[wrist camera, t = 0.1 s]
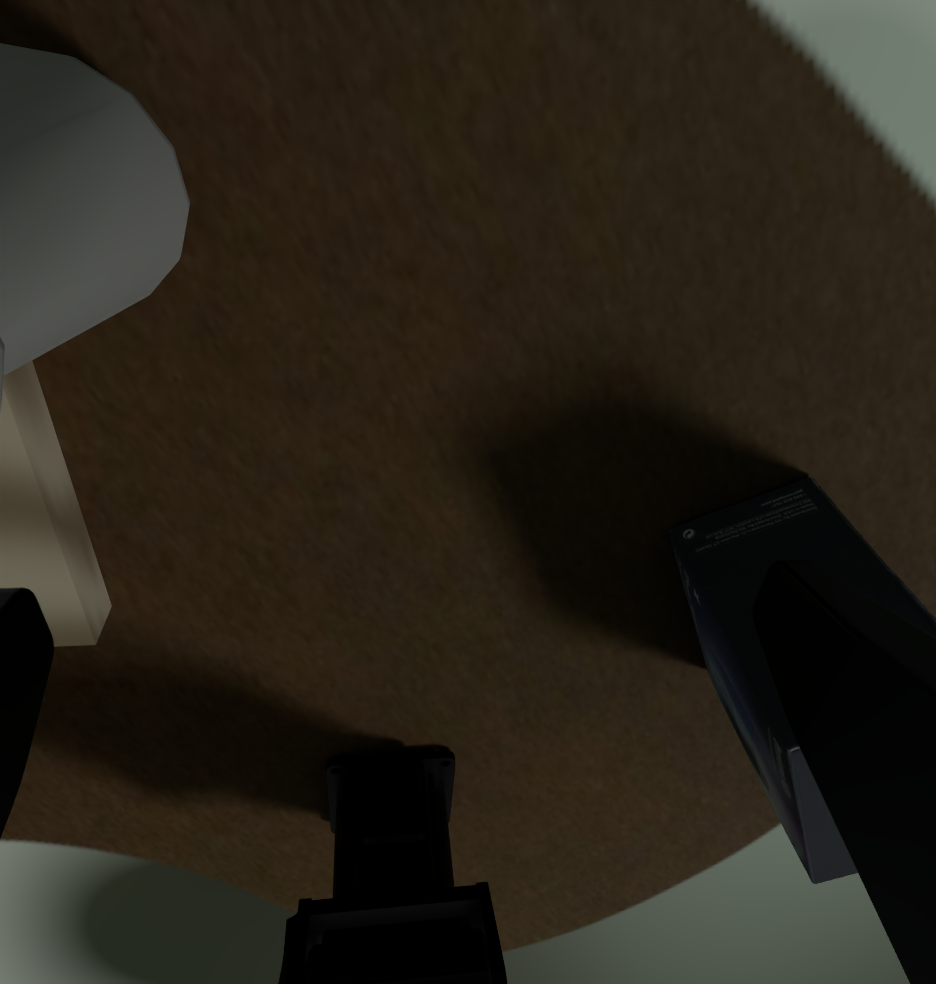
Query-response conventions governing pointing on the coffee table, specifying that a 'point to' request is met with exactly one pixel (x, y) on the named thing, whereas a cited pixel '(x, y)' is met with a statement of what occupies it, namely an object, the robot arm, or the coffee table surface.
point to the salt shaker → (78, 202)
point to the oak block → (45, 519)
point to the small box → (737, 649)
